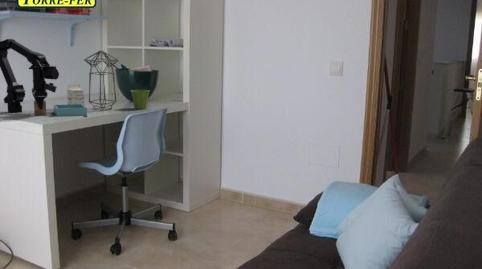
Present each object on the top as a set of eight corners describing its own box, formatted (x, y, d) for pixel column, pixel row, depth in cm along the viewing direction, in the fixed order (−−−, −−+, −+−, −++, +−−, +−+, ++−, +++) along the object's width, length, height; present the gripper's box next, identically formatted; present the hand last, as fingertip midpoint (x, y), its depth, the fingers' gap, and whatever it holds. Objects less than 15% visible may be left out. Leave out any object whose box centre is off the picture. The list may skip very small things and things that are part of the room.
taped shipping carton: (35, 115, 249) (34, 102, 248) (34, 113, 254) (33, 100, 253) (46, 115, 252) (45, 101, 251) (45, 113, 257) (44, 100, 255)
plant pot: (143, 106, 305) (143, 89, 303) (153, 109, 296) (153, 91, 294) (126, 108, 297) (126, 89, 295) (136, 110, 288) (136, 91, 286)
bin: (57, 118, 250) (56, 108, 249) (53, 113, 263) (53, 104, 262) (86, 117, 257) (86, 107, 256) (82, 113, 270) (82, 104, 269)
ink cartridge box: (72, 110, 280) (71, 84, 277) (67, 109, 283) (66, 84, 281) (85, 108, 287) (84, 84, 284) (80, 107, 290) (79, 83, 287)
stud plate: (30, 118, 246) (30, 107, 246) (29, 115, 255) (29, 105, 254) (51, 117, 251) (51, 107, 250) (49, 114, 260) (49, 104, 259)
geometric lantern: (121, 109, 291) (120, 51, 284) (103, 112, 278) (102, 51, 270) (101, 106, 298) (100, 49, 291) (82, 109, 284) (81, 50, 277)
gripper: (57, 80, 245) (58, 110, 248) (53, 77, 261) (54, 105, 264) (33, 79, 240) (35, 110, 243) (31, 77, 256) (32, 105, 259)
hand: (39, 108), depth 252 cm, fingers open, 9 cm apart
